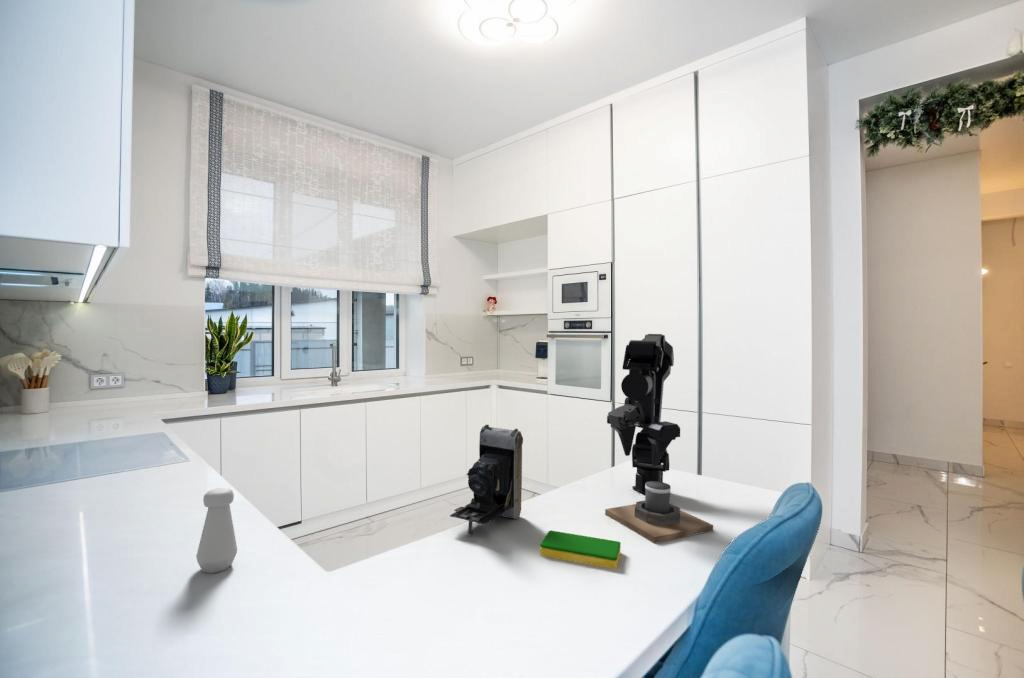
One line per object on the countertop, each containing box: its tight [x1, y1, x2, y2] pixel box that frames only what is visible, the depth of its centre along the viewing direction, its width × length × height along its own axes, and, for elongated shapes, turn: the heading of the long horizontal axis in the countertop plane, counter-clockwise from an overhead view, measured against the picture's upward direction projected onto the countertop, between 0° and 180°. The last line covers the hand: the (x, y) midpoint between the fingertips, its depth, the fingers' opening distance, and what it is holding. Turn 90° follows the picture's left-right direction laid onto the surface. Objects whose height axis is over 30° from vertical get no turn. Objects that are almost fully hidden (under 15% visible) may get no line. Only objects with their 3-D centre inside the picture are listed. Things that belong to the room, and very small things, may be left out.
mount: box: [604, 500, 714, 544], centre depth 103 cm, size 16×16×3 cm
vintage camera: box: [449, 424, 524, 536], centre depth 99 cm, size 10×16×20 cm, turn 152°
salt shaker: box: [195, 487, 238, 574], centre depth 78 cm, size 6×6×13 cm
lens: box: [644, 481, 672, 514], centre depth 103 cm, size 5×5×7 cm
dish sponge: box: [539, 530, 622, 570], centre depth 87 cm, size 7×14×2 cm, turn 71°
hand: (640, 460), depth 109 cm, fingers open, 9 cm apart
